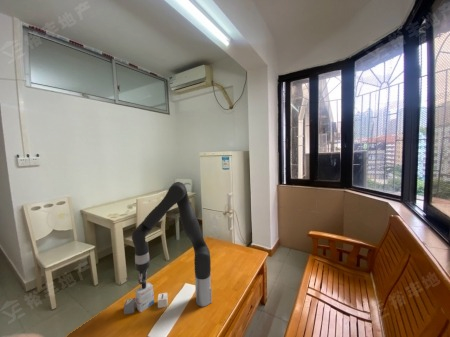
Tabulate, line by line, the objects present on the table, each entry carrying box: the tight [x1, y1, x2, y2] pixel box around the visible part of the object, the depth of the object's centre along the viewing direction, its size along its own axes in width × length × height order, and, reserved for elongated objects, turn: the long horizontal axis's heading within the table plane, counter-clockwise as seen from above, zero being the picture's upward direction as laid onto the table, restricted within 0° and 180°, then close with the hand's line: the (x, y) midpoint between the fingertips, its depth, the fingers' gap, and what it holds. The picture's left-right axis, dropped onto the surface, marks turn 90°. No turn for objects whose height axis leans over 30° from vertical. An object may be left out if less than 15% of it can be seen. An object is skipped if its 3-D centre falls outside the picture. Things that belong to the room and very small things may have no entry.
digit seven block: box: [123, 297, 137, 315], centre depth 108 cm, size 5×5×5 cm
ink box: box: [134, 282, 155, 313], centre depth 110 cm, size 9×5×12 cm, turn 141°
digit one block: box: [157, 292, 169, 309], centre depth 112 cm, size 5×5×5 cm
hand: (144, 287), depth 110 cm, fingers closed
